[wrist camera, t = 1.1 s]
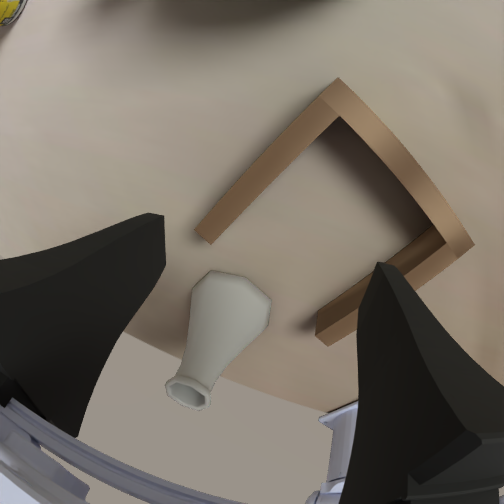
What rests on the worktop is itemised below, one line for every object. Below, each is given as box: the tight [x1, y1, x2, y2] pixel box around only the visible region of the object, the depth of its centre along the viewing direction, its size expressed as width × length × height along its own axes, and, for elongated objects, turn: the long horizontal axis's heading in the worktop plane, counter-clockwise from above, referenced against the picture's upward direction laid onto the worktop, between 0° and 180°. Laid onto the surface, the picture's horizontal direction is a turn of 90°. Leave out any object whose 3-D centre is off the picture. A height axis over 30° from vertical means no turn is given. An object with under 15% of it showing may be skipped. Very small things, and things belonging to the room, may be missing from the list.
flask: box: [165, 270, 272, 411], centre depth 23 cm, size 7×7×10 cm
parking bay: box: [194, 78, 475, 346], centre depth 20 cm, size 13×13×3 cm
